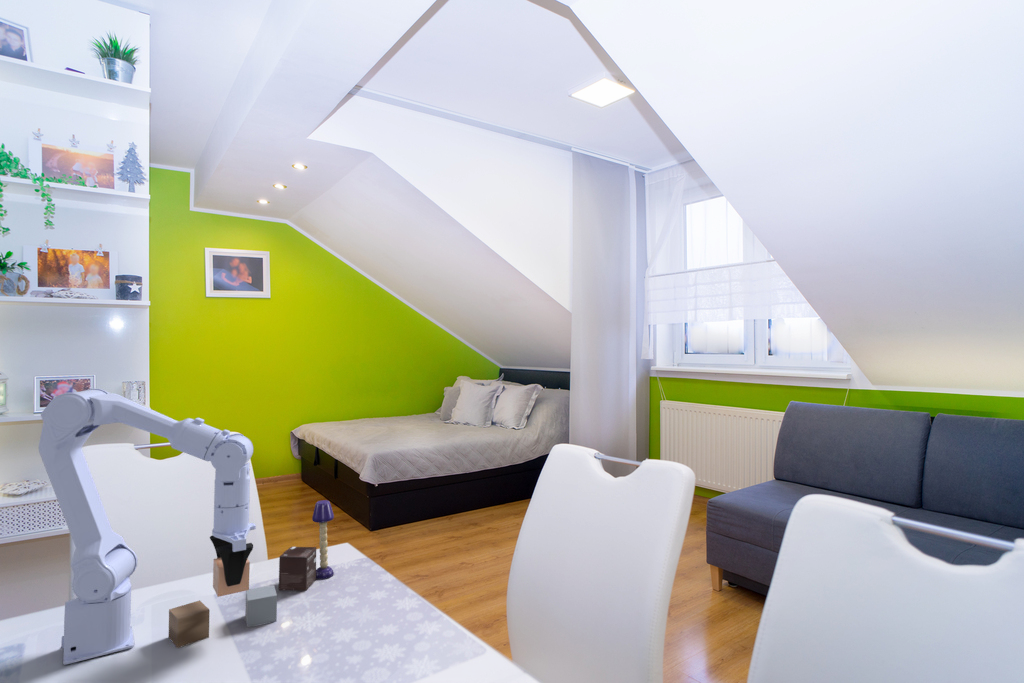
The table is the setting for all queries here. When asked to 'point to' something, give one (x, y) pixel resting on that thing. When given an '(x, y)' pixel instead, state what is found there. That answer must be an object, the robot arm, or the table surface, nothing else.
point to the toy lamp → (323, 536)
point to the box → (297, 568)
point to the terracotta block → (220, 582)
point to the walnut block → (188, 623)
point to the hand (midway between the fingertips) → (230, 579)
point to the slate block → (261, 606)
